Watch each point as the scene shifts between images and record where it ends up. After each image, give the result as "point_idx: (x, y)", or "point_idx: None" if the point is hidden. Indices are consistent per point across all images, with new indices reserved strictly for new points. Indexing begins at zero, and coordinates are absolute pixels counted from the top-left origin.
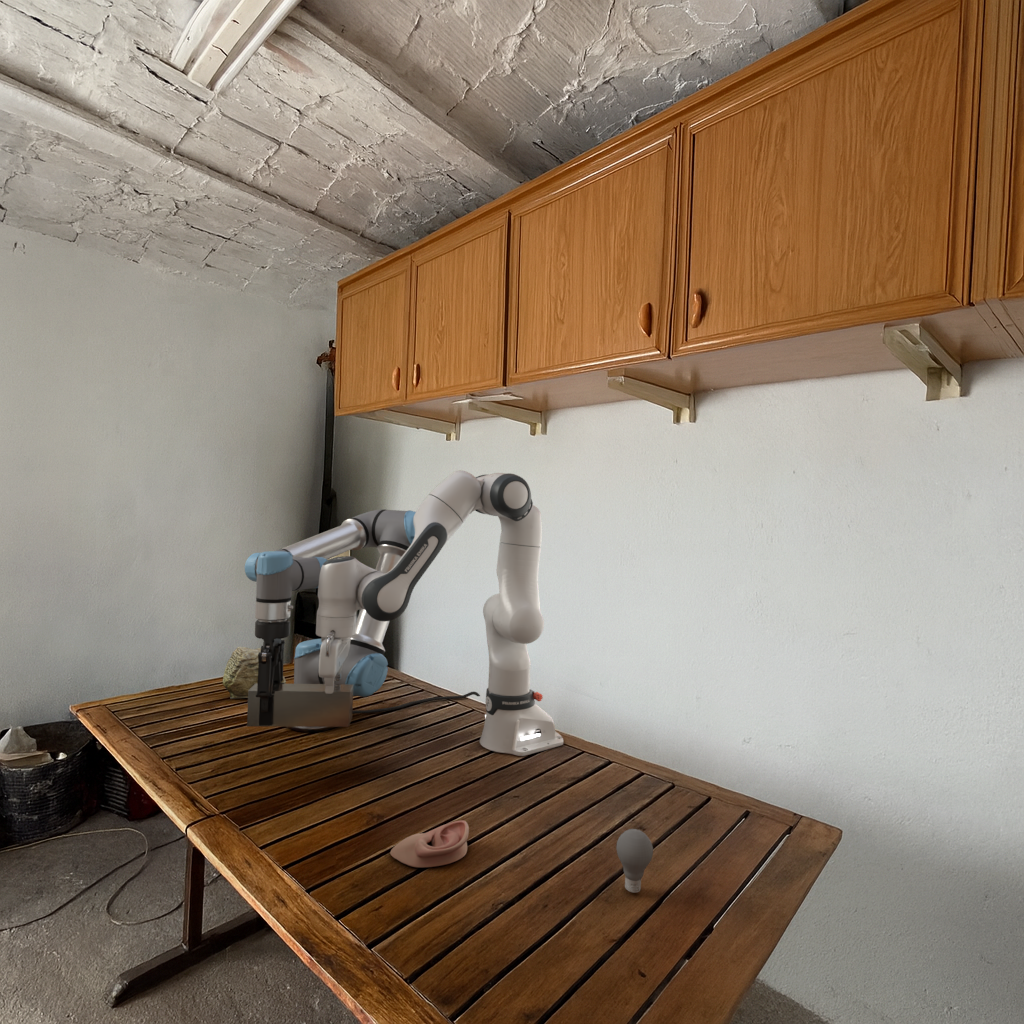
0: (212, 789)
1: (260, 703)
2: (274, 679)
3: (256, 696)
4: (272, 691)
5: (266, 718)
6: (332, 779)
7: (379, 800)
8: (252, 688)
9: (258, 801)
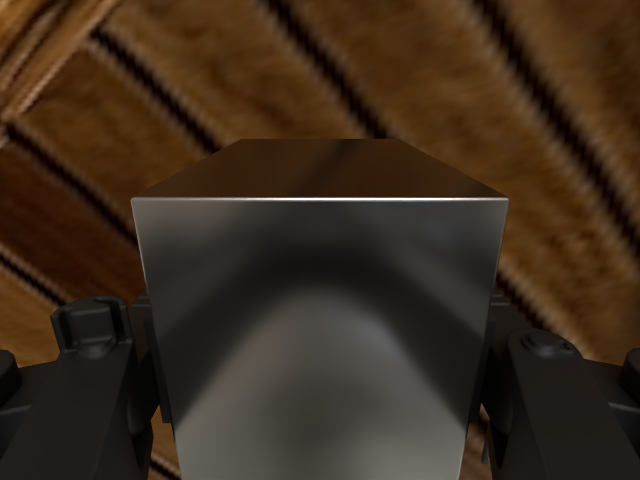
0: (159, 33)
1: None
2: (510, 460)
3: (71, 310)
4: (179, 455)
5: None
6: None
7: (157, 474)
8: (236, 229)
9: (102, 216)
